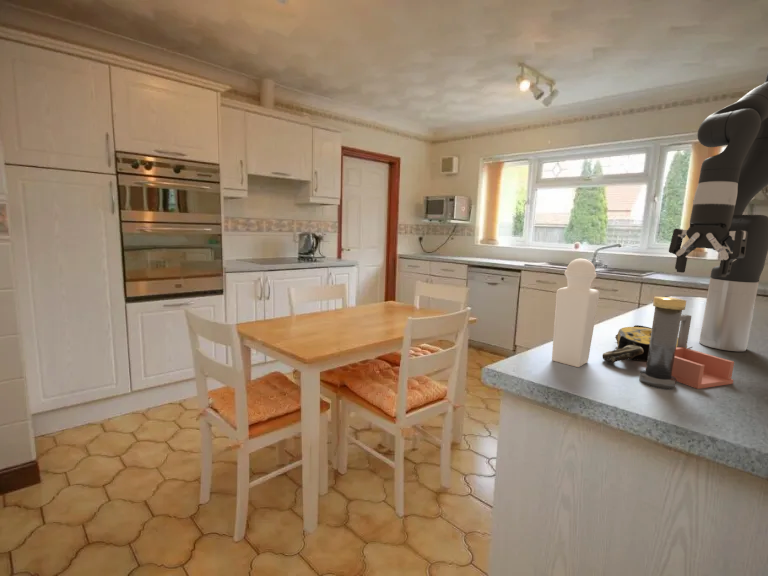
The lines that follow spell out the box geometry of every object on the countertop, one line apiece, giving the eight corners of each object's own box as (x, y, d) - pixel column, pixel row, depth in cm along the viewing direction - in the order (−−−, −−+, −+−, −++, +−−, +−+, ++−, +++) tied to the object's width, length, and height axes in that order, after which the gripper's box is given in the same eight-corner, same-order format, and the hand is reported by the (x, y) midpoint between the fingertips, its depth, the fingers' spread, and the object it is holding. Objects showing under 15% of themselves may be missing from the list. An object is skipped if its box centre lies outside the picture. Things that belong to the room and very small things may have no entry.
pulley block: (582, 329, 87) (638, 316, 105) (575, 354, 88) (631, 336, 107) (653, 357, 76) (702, 337, 94) (644, 384, 78) (693, 359, 96)
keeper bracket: (677, 363, 87) (685, 314, 85) (736, 383, 76) (746, 327, 75) (640, 368, 83) (648, 316, 81) (697, 388, 73) (707, 330, 71)
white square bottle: (591, 362, 85) (604, 259, 82) (580, 369, 81) (593, 260, 77) (560, 354, 90) (571, 256, 86) (548, 360, 85) (559, 257, 82)
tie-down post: (652, 376, 78) (665, 296, 76) (682, 387, 73) (696, 301, 71) (632, 379, 76) (644, 296, 74) (661, 390, 71) (674, 302, 69)
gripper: (761, 204, 86) (746, 279, 88) (688, 206, 99) (676, 271, 101) (743, 201, 83) (728, 278, 85) (670, 203, 96) (658, 270, 98)
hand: (700, 274), depth 93 cm, fingers open, 8 cm apart
